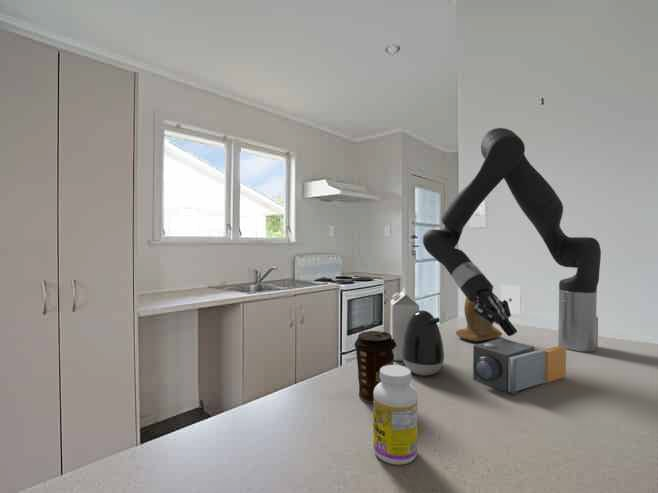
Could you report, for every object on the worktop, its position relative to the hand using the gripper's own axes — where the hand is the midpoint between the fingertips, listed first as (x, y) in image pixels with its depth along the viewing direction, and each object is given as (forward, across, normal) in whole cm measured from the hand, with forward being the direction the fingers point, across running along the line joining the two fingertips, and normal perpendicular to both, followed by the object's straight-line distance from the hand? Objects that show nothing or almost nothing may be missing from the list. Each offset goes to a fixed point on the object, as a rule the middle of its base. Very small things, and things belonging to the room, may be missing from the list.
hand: (513, 334), depth 88 cm
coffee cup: (+3, +40, -11) cm, 42 cm away
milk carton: (-8, +18, -21) cm, 29 cm away
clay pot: (-8, -16, -20) cm, 27 cm away
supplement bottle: (+14, +50, 0) cm, 52 cm away
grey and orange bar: (+13, +6, +1) cm, 14 cm away
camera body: (+9, +11, -4) cm, 14 cm away
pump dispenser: (-1, +22, -14) cm, 25 cm away
